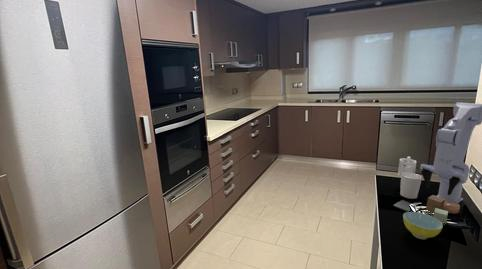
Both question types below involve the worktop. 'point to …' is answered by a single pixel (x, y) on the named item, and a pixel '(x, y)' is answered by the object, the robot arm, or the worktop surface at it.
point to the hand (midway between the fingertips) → (438, 190)
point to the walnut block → (435, 203)
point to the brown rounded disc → (451, 207)
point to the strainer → (408, 166)
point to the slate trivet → (403, 205)
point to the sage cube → (440, 215)
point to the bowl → (422, 225)
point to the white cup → (410, 185)
